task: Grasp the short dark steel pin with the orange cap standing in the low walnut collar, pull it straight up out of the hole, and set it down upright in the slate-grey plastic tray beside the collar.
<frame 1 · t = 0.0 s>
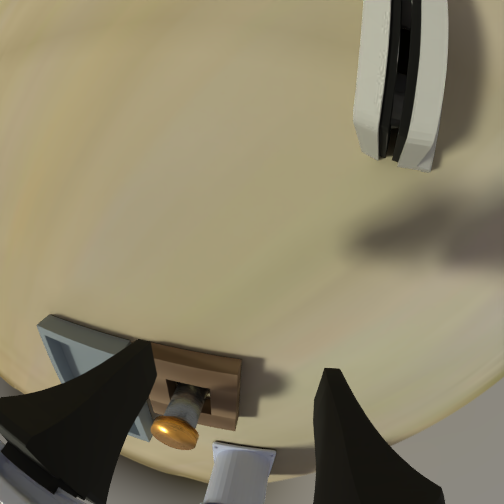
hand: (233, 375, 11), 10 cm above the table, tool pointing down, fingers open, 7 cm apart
pin: (194, 383, 25), resting in holder
tray: (101, 378, 28), on the table
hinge: (393, 52, 13), on the table
holder: (194, 383, 25), on the table
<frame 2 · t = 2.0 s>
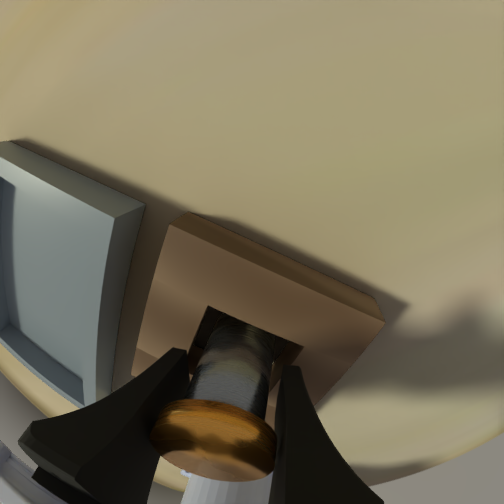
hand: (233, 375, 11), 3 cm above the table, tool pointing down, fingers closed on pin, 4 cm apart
pin: (244, 333, 13), resting in holder, touching gripper
tray: (47, 284, 14), on the table
holder: (244, 334, 13), on the table
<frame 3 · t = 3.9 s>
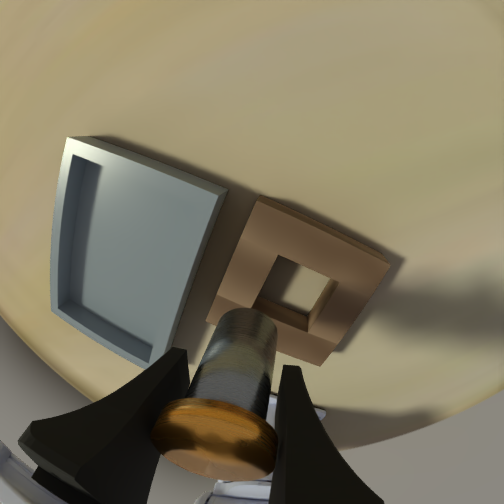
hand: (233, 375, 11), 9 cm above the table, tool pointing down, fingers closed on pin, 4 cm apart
pin: (247, 333, 13), point 6 cm above the table, touching gripper
tray: (123, 256, 20), on the table
holder: (294, 282, 19), on the table
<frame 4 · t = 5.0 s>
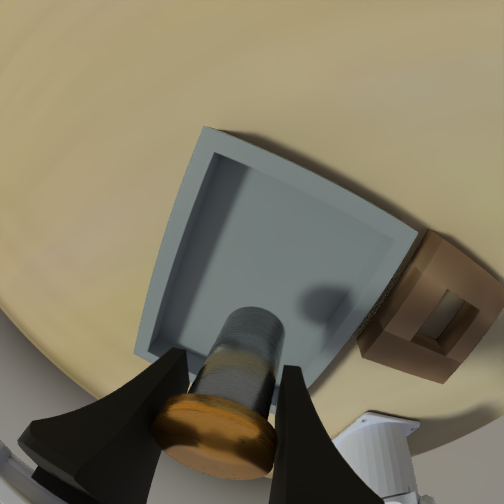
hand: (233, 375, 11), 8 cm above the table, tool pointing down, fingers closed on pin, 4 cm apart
pin: (254, 332, 13), point 5 cm above the table, touching gripper
tray: (256, 289, 18), on the table
holder: (436, 310, 17), on the table
when the fingers open (5 cm above the table, at t = 6.0 s): pin drops 1 cm, resting on tray.
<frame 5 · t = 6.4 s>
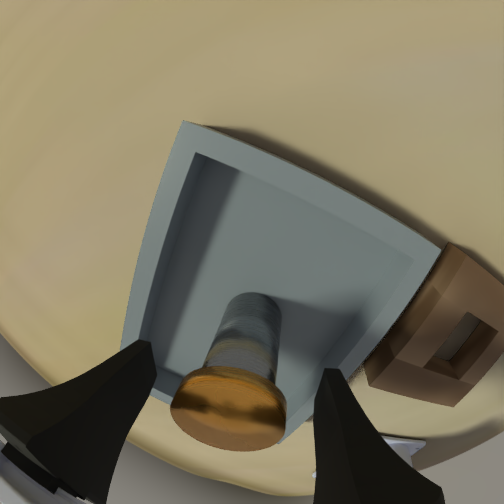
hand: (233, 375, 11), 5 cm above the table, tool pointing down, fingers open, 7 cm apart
pin: (253, 316, 15), point 1 cm above the table, touching tray
tray: (250, 311, 15), on the table
holder: (451, 331, 14), on the table
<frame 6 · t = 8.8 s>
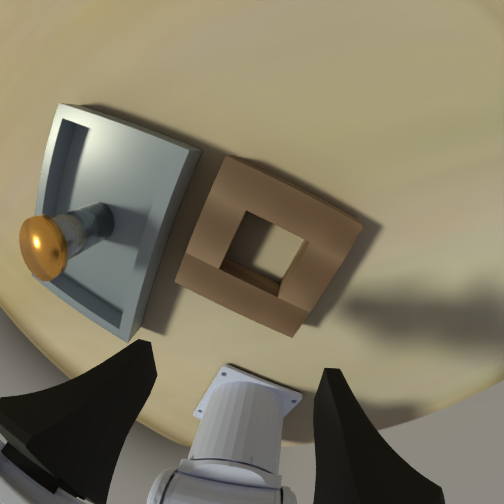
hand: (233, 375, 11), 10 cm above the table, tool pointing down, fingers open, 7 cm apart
pin: (99, 220, 19), point 1 cm above the table, touching tray
tray: (102, 219, 20), on the table
holder: (265, 245, 19), on the table
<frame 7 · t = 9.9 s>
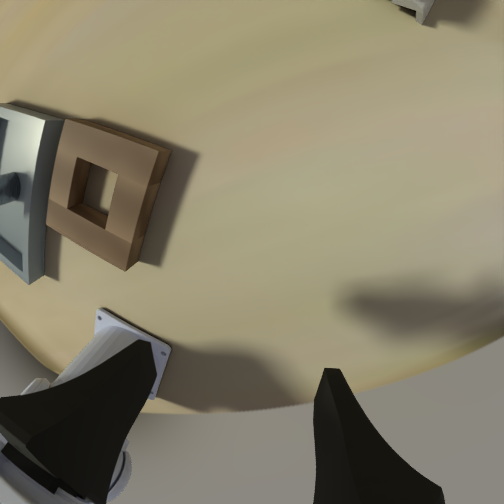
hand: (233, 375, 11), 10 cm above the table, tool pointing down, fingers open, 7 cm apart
pin: (13, 186, 20), point 1 cm above the table, touching tray
tray: (16, 186, 20), on the table
holder: (105, 188, 19), on the table
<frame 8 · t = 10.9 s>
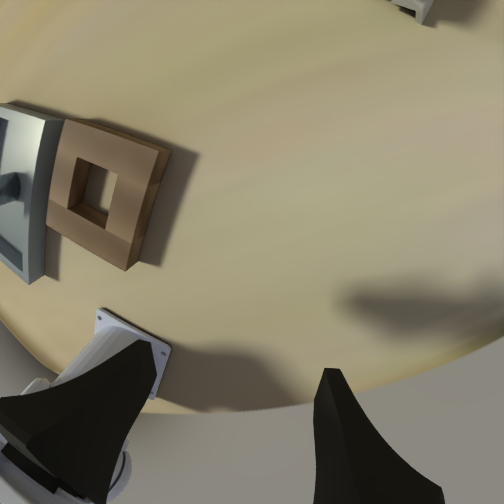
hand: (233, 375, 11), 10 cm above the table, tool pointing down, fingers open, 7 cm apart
pin: (13, 186, 20), point 1 cm above the table, touching tray
tray: (16, 186, 20), on the table
holder: (105, 188, 19), on the table
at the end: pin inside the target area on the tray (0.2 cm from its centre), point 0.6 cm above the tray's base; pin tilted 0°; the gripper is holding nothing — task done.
